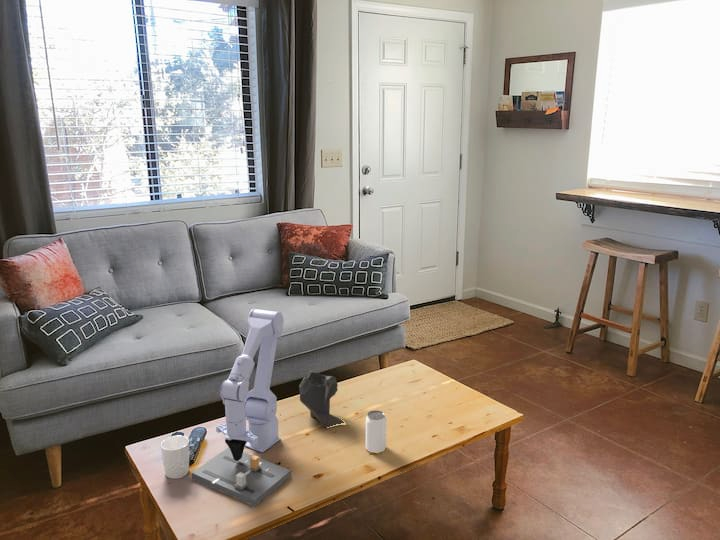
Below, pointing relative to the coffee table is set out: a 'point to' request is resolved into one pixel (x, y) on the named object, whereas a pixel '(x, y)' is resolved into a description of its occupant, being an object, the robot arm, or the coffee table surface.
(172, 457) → the white cup
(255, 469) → the fader tab orange
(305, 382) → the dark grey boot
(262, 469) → the console board
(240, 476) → the fader tab grey
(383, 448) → the can
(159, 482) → the coffee table surface
